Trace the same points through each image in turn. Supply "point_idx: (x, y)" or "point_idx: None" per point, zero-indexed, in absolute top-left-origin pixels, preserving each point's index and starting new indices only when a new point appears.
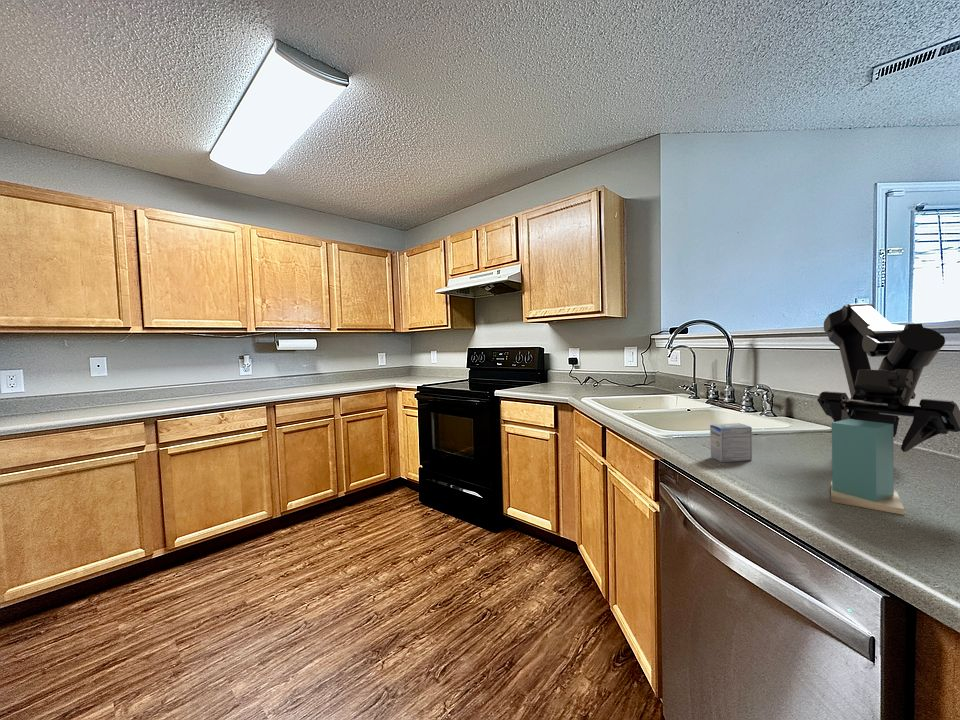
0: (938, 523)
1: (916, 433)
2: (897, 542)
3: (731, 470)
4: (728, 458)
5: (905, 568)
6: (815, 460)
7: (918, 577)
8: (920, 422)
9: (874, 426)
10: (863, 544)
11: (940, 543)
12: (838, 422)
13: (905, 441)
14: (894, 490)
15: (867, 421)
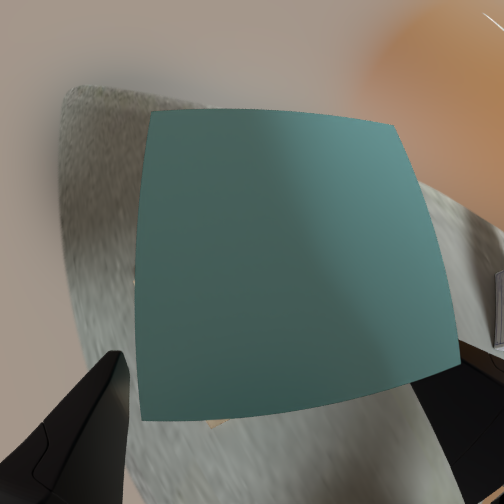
0: (86, 293)
1: (43, 423)
2: (109, 143)
3: (459, 242)
4: (500, 286)
5: (94, 93)
6: (443, 493)
7: (84, 89)
8: (3, 484)
9: (183, 166)
10: (138, 104)
11: (69, 192)
12: (387, 149)
13: (98, 375)
14: (211, 422)
15: (344, 374)
